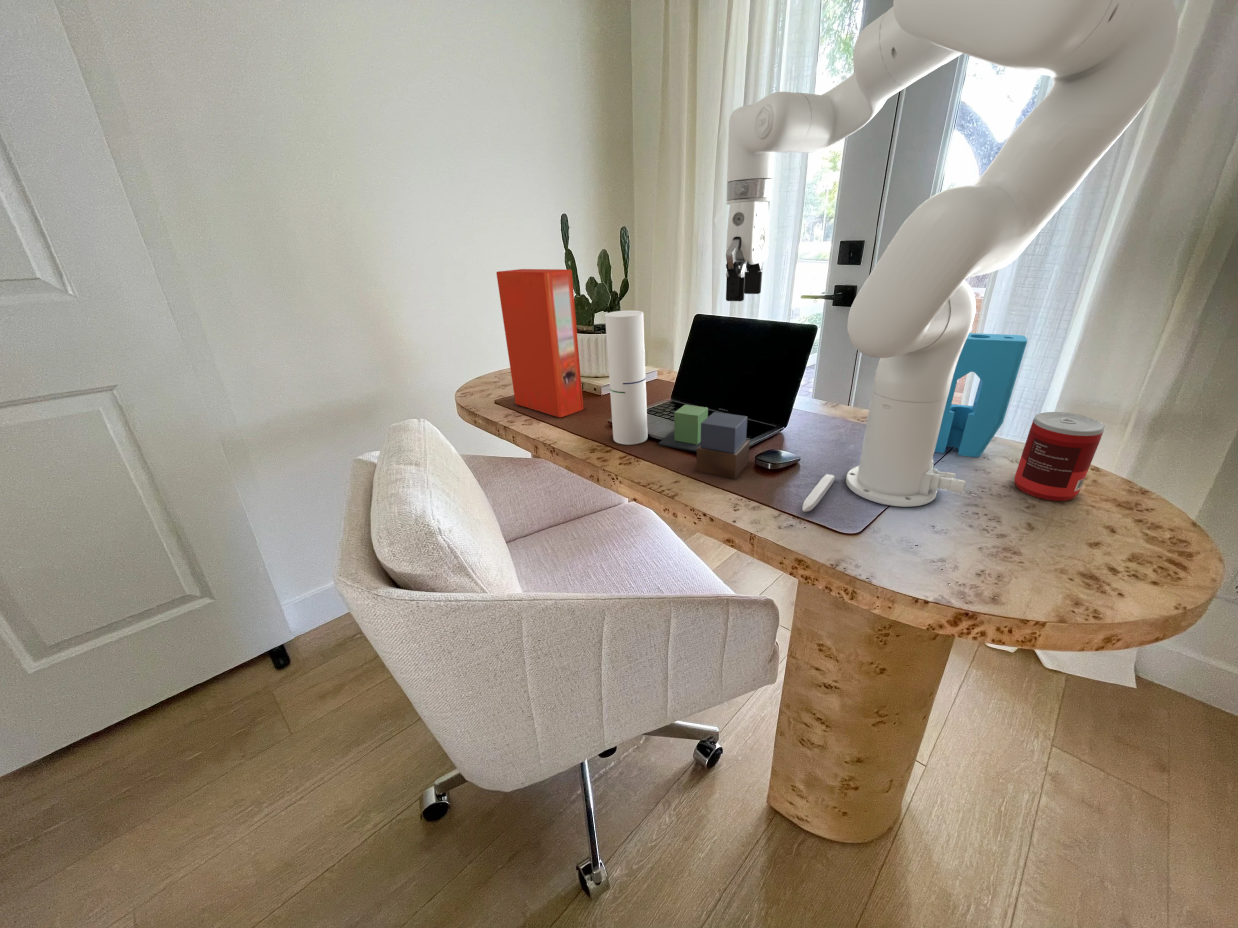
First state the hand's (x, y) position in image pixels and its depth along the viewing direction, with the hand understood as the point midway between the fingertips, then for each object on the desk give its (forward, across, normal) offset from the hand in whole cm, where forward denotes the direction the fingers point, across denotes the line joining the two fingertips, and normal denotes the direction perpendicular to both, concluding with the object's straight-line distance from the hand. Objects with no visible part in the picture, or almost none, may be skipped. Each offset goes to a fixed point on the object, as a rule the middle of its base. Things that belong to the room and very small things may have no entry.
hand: (743, 297), depth 92 cm
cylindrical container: (+26, -14, +18) cm, 35 cm away
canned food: (+26, -6, -50) cm, 57 cm away
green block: (+26, -10, +6) cm, 28 cm away
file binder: (+26, -5, +47) cm, 54 cm away
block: (+26, +5, -38) cm, 47 cm away
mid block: (+22, -19, -4) cm, 29 cm away
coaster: (+26, -10, +6) cm, 29 cm away
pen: (+26, -23, -21) cm, 41 cm away
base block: (+26, -19, -4) cm, 33 cm away
